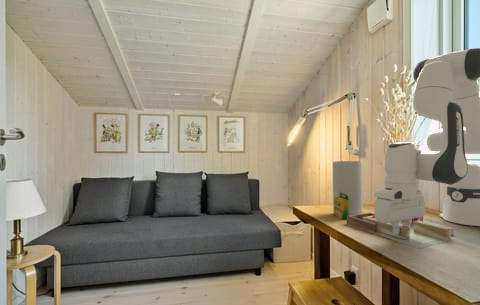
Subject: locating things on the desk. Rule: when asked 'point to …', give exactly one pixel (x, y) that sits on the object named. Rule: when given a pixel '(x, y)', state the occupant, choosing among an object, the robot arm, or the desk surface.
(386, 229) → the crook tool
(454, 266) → the desk surface
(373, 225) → the cubby
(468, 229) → the desk surface
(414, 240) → the board
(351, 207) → the cylinder vase
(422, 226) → the plain stick
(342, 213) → the crayon box
